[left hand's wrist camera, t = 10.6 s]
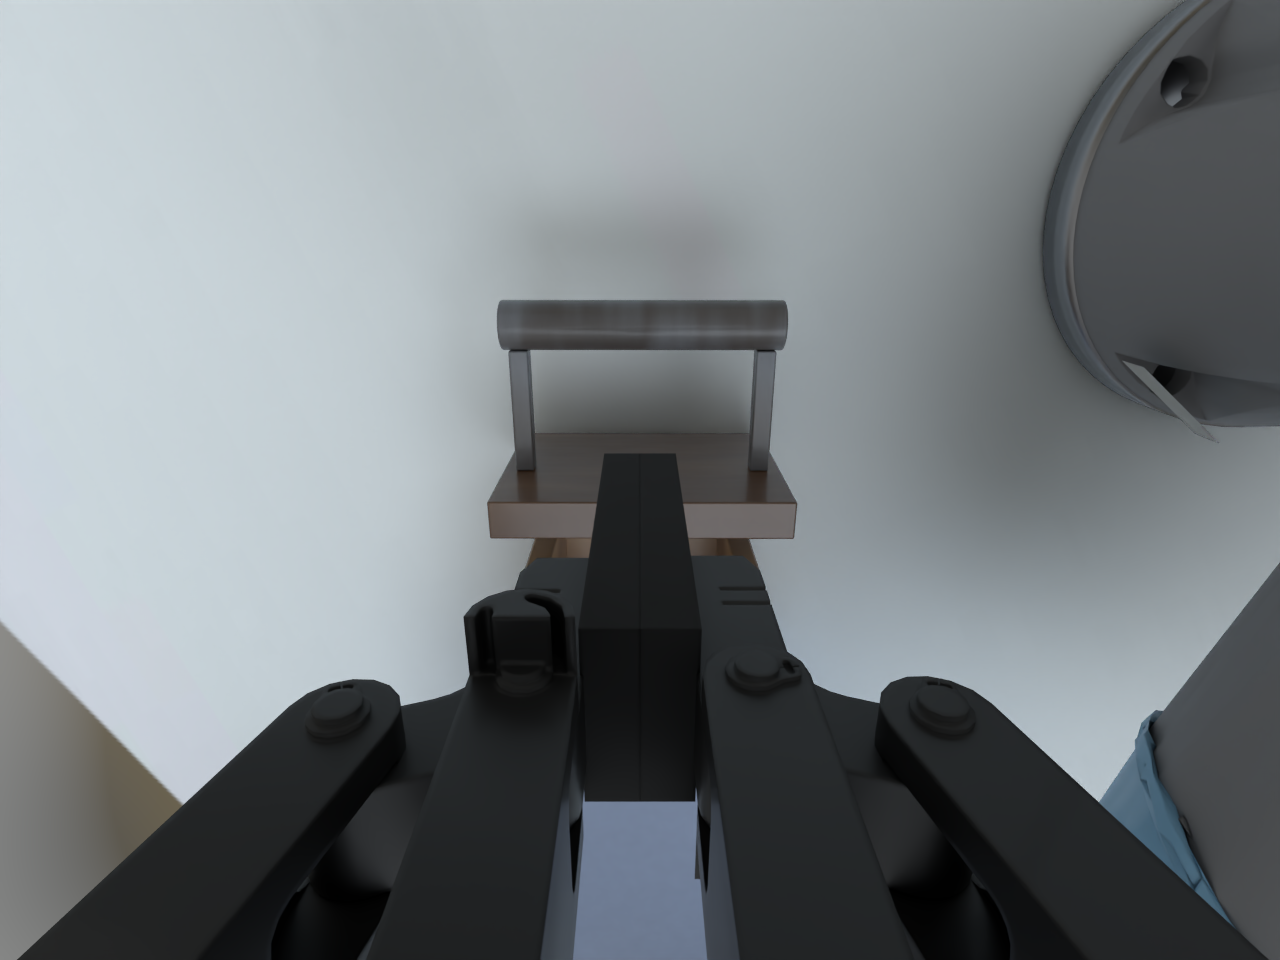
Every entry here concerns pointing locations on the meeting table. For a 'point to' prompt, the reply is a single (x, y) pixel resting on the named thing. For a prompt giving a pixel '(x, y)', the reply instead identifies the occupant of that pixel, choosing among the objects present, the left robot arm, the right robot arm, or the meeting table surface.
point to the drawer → (707, 462)
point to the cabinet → (639, 883)
